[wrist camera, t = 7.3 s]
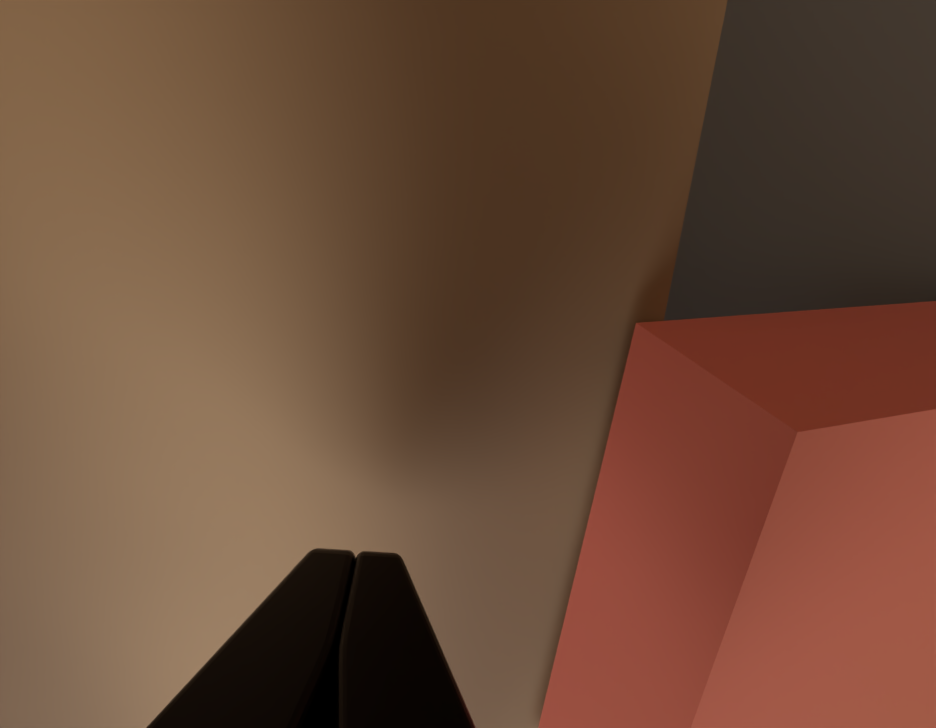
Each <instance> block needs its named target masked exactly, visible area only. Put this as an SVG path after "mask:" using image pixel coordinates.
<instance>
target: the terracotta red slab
mask: <svg viewBox="0 0 936 728" xmlns="http://www.w3.org/2000/svg"><path fill="white" fill-rule="evenodd" d="M538 728H936V301H929V302H915V303H902V304H888V305H874V306H860V307H847V308H833V309H819V310H806V311H792V312H778V313H765V314H751V315H737V316H723V317H710V318H696V319H682V320H669V321H655V322H641V323H636V325H635V329H634V333H633V337H632V341H631V345H630V349H629V354H628V358H627V362H626V366H625V370H624V374H623V378H622V383H621V387H620V391H619V395H618V399H617V403H616V407H615V412H614V416H613V420H612V424H611V428H610V432H609V436H608V441H607V445H606V449H605V453H604V457H603V461H602V465H601V470H600V474H599V478H598V482H597V486H596V490H595V494H594V499H593V503H592V507H591V511H590V515H589V519H588V523H587V528H586V532H585V536H584V540H583V544H582V548H581V552H580V556H579V561H578V565H577V569H576V573H575V577H574V581H573V585H572V590H571V594H570V598H569V602H568V606H567V610H566V614H565V619H564V623H563V627H562V631H561V635H560V639H559V643H558V648H557V652H556V656H555V660H554V664H553V668H552V672H551V677H550V681H549V685H548V689H547V693H546V697H545V701H544V706H543V710H542V714H541V718H540V722H539V726H538Z"/></svg>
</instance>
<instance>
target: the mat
mask: <svg viewBox="0 0 936 728" xmlns="http://www.w3.org/2000/svg"><path fill="white" fill-rule="evenodd" d="M929 301H936V0H728V1H727V6H726V11H725V16H724V21H723V26H722V31H721V36H720V41H719V46H718V51H717V56H716V61H715V66H714V71H713V76H712V81H711V86H710V91H709V96H708V101H707V106H706V111H705V116H704V121H703V126H702V131H701V136H700V141H699V146H698V151H697V156H696V161H695V166H694V171H693V176H692V181H691V186H690V191H689V196H688V201H687V206H686V211H685V216H684V221H683V226H682V231H681V236H680V241H679V246H678V251H677V256H676V261H675V266H674V271H673V276H672V281H671V286H670V291H669V296H668V302H667V307H666V312H665V317H664V321H669V320H682V319H696V318H710V317H723V316H737V315H751V314H765V313H778V312H792V311H806V310H819V309H833V308H847V307H860V306H874V305H888V304H902V303H915V302H929Z"/></svg>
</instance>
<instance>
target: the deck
mask: <svg viewBox="0 0 936 728" xmlns="http://www.w3.org/2000/svg"><path fill="white" fill-rule="evenodd" d="M727 1H728V0H0V728H146V727H147V726H148V725H149V724H150V723H151V722H152V721H153V720H154V719H155V718H156V717H157V715H158V714H159V713H160V712H161V711H162V710H163V709H164V708H165V707H166V706H167V705H168V704H169V702H170V701H171V700H172V699H173V698H174V697H175V696H176V695H177V694H178V693H179V692H180V691H181V689H182V688H183V687H184V686H185V685H186V684H187V683H188V682H189V681H190V680H191V679H192V678H193V677H194V675H195V674H196V673H197V672H198V671H199V670H200V669H201V668H202V667H203V666H204V665H205V664H206V662H207V661H208V660H209V659H210V658H211V657H212V656H213V655H214V654H215V653H216V652H217V651H218V649H219V648H220V647H221V646H222V645H223V644H224V643H225V642H226V641H227V640H228V639H229V638H230V636H231V635H232V634H233V633H234V632H235V631H236V630H237V629H238V628H239V627H240V626H241V625H242V624H243V622H244V621H245V620H246V619H247V618H248V617H249V616H250V615H251V614H252V613H253V612H254V611H255V609H256V608H257V607H258V606H259V605H260V604H261V603H262V602H263V601H264V600H265V599H266V598H267V596H268V595H269V594H270V593H271V592H272V591H273V590H274V589H275V588H276V587H277V586H278V585H279V584H280V582H281V581H282V580H283V579H284V578H285V577H286V576H287V575H288V574H289V573H290V572H291V571H292V569H293V568H294V567H295V566H296V565H297V564H298V563H299V562H300V561H301V560H302V559H303V558H304V556H305V555H306V554H307V553H308V552H309V551H311V550H313V549H316V548H325V549H342V550H351V551H352V552H353V553H354V554H355V557H357V555H358V554H359V553H360V552H362V551H374V552H391V553H397V554H399V555H400V556H401V557H402V559H403V561H404V563H405V565H406V567H407V570H408V572H409V574H410V577H411V579H412V581H413V584H414V586H415V588H416V591H417V593H418V595H419V597H420V600H421V602H422V604H423V607H424V609H425V611H426V614H427V616H428V618H429V621H430V623H431V625H432V628H433V630H434V632H435V634H436V637H437V639H438V641H439V644H440V646H441V648H442V651H443V653H444V655H445V658H446V660H447V662H448V664H449V667H450V669H451V671H452V674H453V676H454V678H455V681H456V683H457V685H458V688H459V690H460V692H461V695H462V697H463V699H464V701H465V704H466V706H467V708H468V711H469V713H470V715H471V718H472V720H473V722H474V725H475V727H476V728H538V726H539V722H540V718H541V714H542V710H543V706H544V701H545V697H546V693H547V689H548V685H549V681H550V677H551V672H552V668H553V664H554V660H555V656H556V652H557V648H558V643H559V639H560V635H561V631H562V627H563V623H564V619H565V614H566V610H567V606H568V602H569V598H570V594H571V590H572V585H573V581H574V577H575V573H576V569H577V565H578V561H579V556H580V552H581V548H582V544H583V540H584V536H585V532H586V528H587V523H588V519H589V515H590V511H591V507H592V503H593V499H594V494H595V490H596V486H597V482H598V478H599V474H600V470H601V465H602V461H603V457H604V453H605V449H606V445H607V441H608V436H609V432H610V428H611V424H612V420H613V416H614V412H615V407H616V403H617V399H618V395H619V391H620V387H621V383H622V378H623V374H624V370H625V366H626V362H627V358H628V354H629V349H630V345H631V341H632V337H633V333H634V329H635V325H636V323H641V322H655V321H664V317H665V312H666V307H667V302H668V296H669V291H670V286H671V281H672V276H673V271H674V266H675V261H676V256H677V251H678V246H679V241H680V236H681V231H682V226H683V221H684V216H685V211H686V206H687V201H688V196H689V191H690V186H691V181H692V176H693V171H694V166H695V161H696V156H697V151H698V146H699V141H700V136H701V131H702V126H703V121H704V116H705V111H706V106H707V101H708V96H709V91H710V86H711V81H712V76H713V71H714V66H715V61H716V56H717V51H718V46H719V41H720V36H721V31H722V26H723V21H724V16H725V11H726V6H727Z"/></svg>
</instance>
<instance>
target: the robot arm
mask: <svg viewBox="0 0 936 728" xmlns="http://www.w3.org/2000/svg"><path fill="white" fill-rule="evenodd" d="M146 728H476V727H475V725H474V722H473V720H472V718H471V715H470V713H469V711H468V708H467V706H466V704H465V701H464V699H463V697H462V695H461V692H460V690H459V688H458V685H457V683H456V681H455V678H454V676H453V674H452V671H451V669H450V667H449V664H448V662H447V660H446V658H445V655H444V653H443V651H442V648H441V646H440V644H439V641H438V639H437V637H436V634H435V632H434V630H433V628H432V625H431V623H430V621H429V618H428V616H427V614H426V611H425V609H424V607H423V604H422V602H421V600H420V597H419V595H418V593H417V591H416V588H415V586H414V584H413V581H412V579H411V577H410V574H409V572H408V570H407V567H406V565H405V563H404V561H403V559H402V557H401V556H400V555H399V554H397V553H391V552H374V551H362V552H360V553H359V554H358V555H357V557H355V554H354V553H353V552H352V551H351V550H342V549H325V548H316V549H313V550H311V551H309V552H308V553H307V554H306V555H305V556H304V558H303V559H302V560H301V561H300V562H299V563H298V564H297V565H296V566H295V567H294V568H293V569H292V571H291V572H290V573H289V574H288V575H287V576H286V577H285V578H284V579H283V580H282V581H281V582H280V584H279V585H278V586H277V587H276V588H275V589H274V590H273V591H272V592H271V593H270V594H269V595H268V596H267V598H266V599H265V600H264V601H263V602H262V603H261V604H260V605H259V606H258V607H257V608H256V609H255V611H254V612H253V613H252V614H251V615H250V616H249V617H248V618H247V619H246V620H245V621H244V622H243V624H242V625H241V626H240V627H239V628H238V629H237V630H236V631H235V632H234V633H233V634H232V635H231V636H230V638H229V639H228V640H227V641H226V642H225V643H224V644H223V645H222V646H221V647H220V648H219V649H218V651H217V652H216V653H215V654H214V655H213V656H212V657H211V658H210V659H209V660H208V661H207V662H206V664H205V665H204V666H203V667H202V668H201V669H200V670H199V671H198V672H197V673H196V674H195V675H194V677H193V678H192V679H191V680H190V681H189V682H188V683H187V684H186V685H185V686H184V687H183V688H182V689H181V691H180V692H179V693H178V694H177V695H176V696H175V697H174V698H173V699H172V700H171V701H170V702H169V704H168V705H167V706H166V707H165V708H164V709H163V710H162V711H161V712H160V713H159V714H158V715H157V717H156V718H155V719H154V720H153V721H152V722H151V723H150V724H149V725H148V726H147V727H146Z"/></svg>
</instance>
